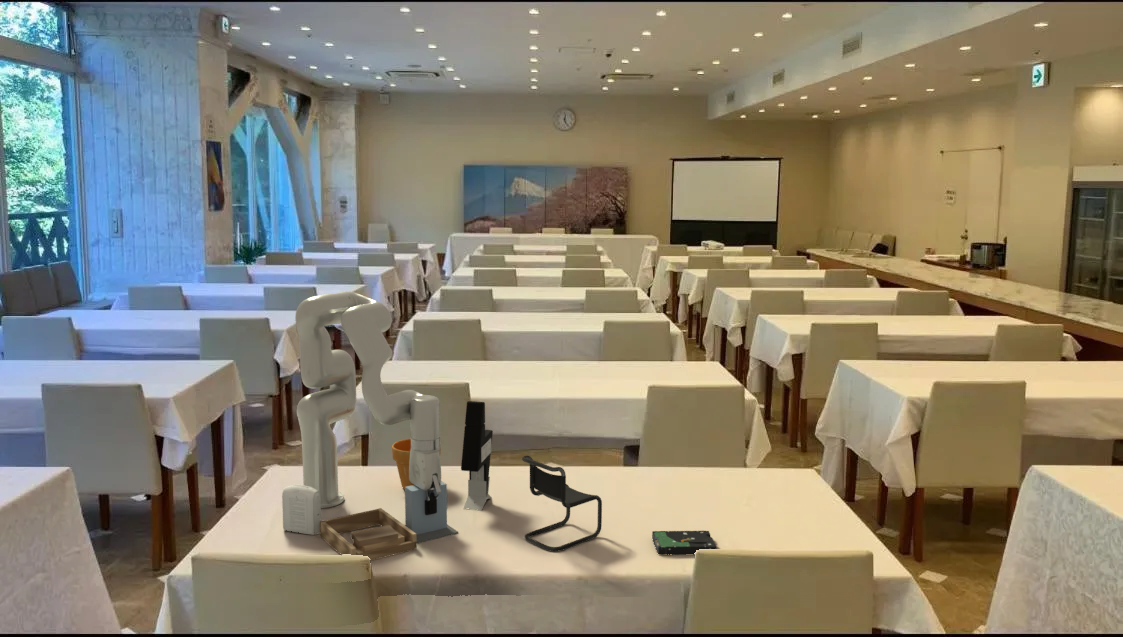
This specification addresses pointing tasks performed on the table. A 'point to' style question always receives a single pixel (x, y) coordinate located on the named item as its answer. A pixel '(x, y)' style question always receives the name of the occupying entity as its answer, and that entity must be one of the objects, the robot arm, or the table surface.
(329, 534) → the wooden frame
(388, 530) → the offcut stack
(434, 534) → the mat
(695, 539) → the disk drive
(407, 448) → the flower pot
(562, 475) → the chair
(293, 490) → the white rounded tombstone
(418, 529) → the rectangular block
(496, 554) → the table surface
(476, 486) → the award
